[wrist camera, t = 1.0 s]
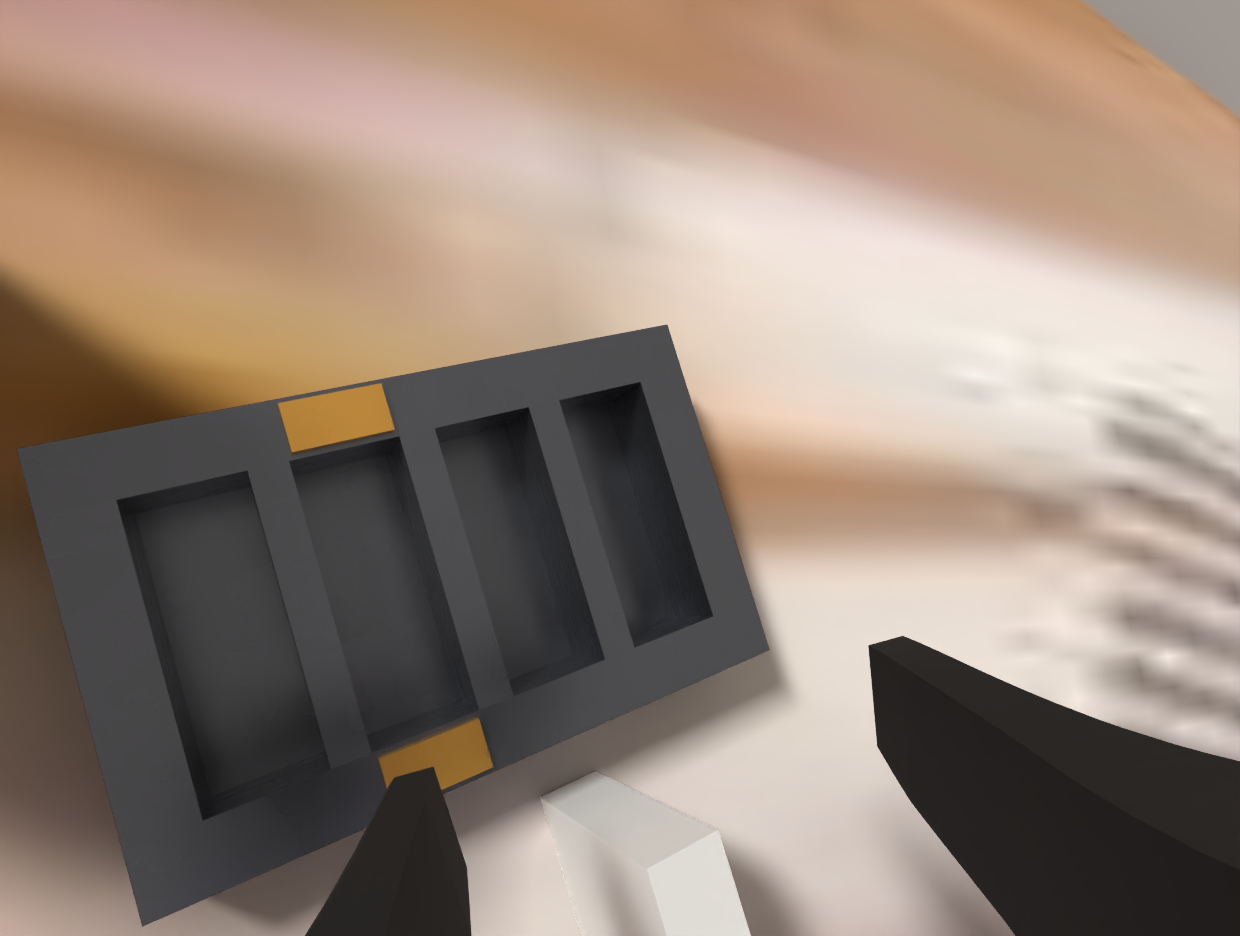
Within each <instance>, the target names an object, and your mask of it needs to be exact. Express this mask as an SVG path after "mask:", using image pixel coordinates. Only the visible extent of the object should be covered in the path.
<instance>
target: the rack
mask: <svg viewBox="0 0 1240 936" xmlns="http://www.w3.org/2000/svg"><path fill="white" fill-rule="evenodd" d="M17 452H18V456H19V460H20V464H21V468H22V471H23V475H24V479H25V483H26V487H27V490H28V494H29V498H30V502H31V506H32V509H33V513H34V517H35V521H36V524H37V528H38V532H39V536H40V540H41V543H42V547H43V551H44V555H45V559H46V562H47V566H48V570H49V574H50V578H51V581H52V585H53V589H54V593H55V597H56V600H57V604H58V608H59V612H60V616H61V619H62V623H63V627H64V631H65V635H66V638H67V642H68V646H69V650H70V654H71V657H72V661H73V665H74V669H75V673H76V676H77V680H78V684H79V688H80V692H81V695H82V699H83V703H84V707H85V711H86V714H87V718H88V722H89V726H90V730H91V733H92V737H93V741H94V745H95V749H96V752H97V756H98V760H99V764H100V768H101V771H102V775H103V779H104V783H105V787H106V790H107V794H108V798H109V802H110V806H111V809H112V813H113V817H114V821H115V825H116V828H117V832H118V836H119V840H120V844H121V847H122V851H123V855H124V859H125V863H126V866H127V870H128V874H129V878H130V882H131V885H132V889H133V893H134V897H135V900H136V904H137V908H138V912H139V916H140V919H141V923H142V927H143V926H145V925H147V924H149V923H152V922H154V921H156V920H158V919H161V918H163V917H165V916H167V915H170V914H172V913H174V912H177V911H179V910H181V909H183V908H186V907H188V906H190V905H192V904H195V903H197V902H199V901H201V900H204V899H206V898H208V897H211V896H213V895H215V894H217V893H220V892H222V891H224V890H226V889H229V888H231V887H233V886H235V885H238V884H240V883H242V882H245V881H247V880H249V879H251V878H254V877H256V876H258V875H260V874H263V873H265V872H267V871H269V870H272V869H274V868H276V867H279V866H281V865H283V864H285V863H288V862H290V861H292V860H294V859H297V858H299V857H301V856H303V855H306V854H308V853H310V852H313V851H315V850H317V849H319V848H322V847H324V846H326V845H328V844H331V843H333V842H335V841H337V840H340V839H342V838H344V837H347V836H349V835H351V834H353V833H356V832H358V831H360V830H362V829H365V828H367V827H368V825H369V823H370V821H371V819H372V817H373V815H374V813H375V811H376V810H377V808H378V806H379V804H380V802H381V800H382V798H383V796H384V794H385V792H386V790H387V788H388V786H389V784H390V783H391V781H392V780H393V778H394V777H397V776H401V775H405V774H408V773H412V772H415V771H419V770H423V769H426V768H430V767H433V766H434V769H435V772H436V775H437V778H438V781H439V784H440V787H441V790H442V793H443V794H444V793H446V792H449V791H451V790H453V789H455V788H458V787H460V786H462V785H464V784H467V783H469V782H471V781H473V780H476V779H478V778H480V777H483V776H485V775H487V774H489V773H492V772H494V771H496V770H498V769H501V768H503V767H505V766H507V765H510V764H512V763H514V762H517V761H519V760H521V759H523V758H526V757H528V756H530V755H532V754H535V753H537V752H539V751H541V750H544V749H546V748H548V747H551V746H553V745H555V744H557V743H560V742H562V741H564V740H566V739H569V738H571V737H573V736H575V735H578V734H580V733H582V732H585V731H587V730H589V729H591V728H594V727H596V726H598V725H600V724H603V723H605V722H607V721H609V720H612V719H614V718H616V717H619V716H621V715H623V714H625V713H628V712H630V711H632V710H634V709H637V708H639V707H641V706H643V705H646V704H648V703H650V702H653V701H655V700H657V699H659V698H662V697H664V696H666V695H668V694H671V693H673V692H675V691H677V690H680V689H682V688H684V687H687V686H689V685H691V684H693V683H696V682H698V681H700V680H702V679H705V678H707V677H709V676H711V675H714V674H716V673H718V672H721V671H723V670H725V669H727V668H730V667H732V666H734V665H736V664H739V663H741V662H743V661H745V660H748V659H750V658H752V657H755V656H757V655H759V654H761V653H764V652H766V651H768V650H769V647H768V644H767V640H766V637H765V634H764V631H763V628H762V625H761V621H760V618H759V615H758V612H757V609H756V605H755V602H754V599H753V596H752V593H751V589H750V586H749V583H748V580H747V577H746V574H745V570H744V567H743V564H742V561H741V558H740V554H739V551H738V548H737V545H736V542H735V539H734V535H733V532H732V529H731V526H730V523H729V519H728V516H727V513H726V510H725V507H724V504H723V500H722V497H721V494H720V491H719V488H718V484H717V481H716V478H715V475H714V472H713V469H712V465H711V462H710V459H709V456H708V453H707V449H706V446H705V443H704V440H703V437H702V434H701V430H700V427H699V424H698V421H697V418H696V414H695V411H694V408H693V405H692V402H691V399H690V395H689V392H688V389H687V386H686V383H685V379H684V376H683V373H682V370H681V367H680V364H679V360H678V357H677V354H676V351H675V348H674V344H673V341H672V338H671V335H670V332H669V329H668V325H662V326H657V327H652V328H647V329H641V330H636V331H631V332H626V333H620V334H615V335H610V336H605V337H600V338H594V339H589V340H584V341H579V342H573V343H568V344H563V345H558V346H552V347H547V348H542V349H537V350H531V351H526V352H521V353H516V354H510V355H505V356H500V357H495V358H490V359H484V360H479V361H474V362H469V363H463V364H458V365H453V366H448V367H442V368H437V369H432V370H427V371H421V372H416V373H411V374H406V375H400V376H395V377H390V378H385V379H379V380H374V381H369V382H364V383H359V384H353V385H348V386H343V387H338V388H332V389H327V390H322V391H317V392H311V393H306V394H301V395H296V396H290V397H285V398H280V399H275V400H269V401H264V402H259V403H254V404H248V405H243V406H238V407H233V408H228V409H222V410H217V411H212V412H207V413H201V414H196V415H191V416H186V417H180V418H175V419H170V420H165V421H159V422H154V423H149V424H144V425H138V426H133V427H128V428H123V429H117V430H112V431H107V432H102V433H97V434H91V435H86V436H81V437H76V438H70V439H65V440H60V441H55V442H49V443H44V444H39V445H34V446H28V447H23V448H18V449H17Z"/></svg>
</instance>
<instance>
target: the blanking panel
mask: <svg viewBox="0 0 1240 936" xmlns="http://www.w3.org/2000/svg"><path fill="white" fill-rule="evenodd" d="M540 799H541V802H542V806H543V809H544V813H545V816H546V819H547V823H548V826H549V830H550V833H551V836H552V840H553V843H554V847H555V850H556V853H557V857H558V860H559V864H560V867H561V870H562V874H563V877H564V881H565V884H566V887H567V891H568V894H569V898H570V901H571V904H572V908H573V911H574V915H575V918H576V921H577V925H578V928H579V932H580V935H581V936H751V935H750V931H749V928H748V925H747V922H746V918H745V915H744V912H743V908H742V905H741V902H740V899H739V895H738V892H737V889H736V886H735V882H734V879H733V876H732V873H731V869H730V866H729V863H728V859H727V856H726V853H725V850H724V846H723V843H722V840H721V837H720V833H719V830H718V829H716V828H714V827H712V826H710V825H708V824H706V823H703V822H701V821H699V820H697V819H695V818H693V817H691V816H689V815H687V814H685V813H683V812H680V811H678V810H676V809H674V808H672V807H670V806H668V805H666V804H664V803H662V802H659V801H657V800H655V799H653V798H651V797H649V796H647V795H645V794H643V793H641V792H638V791H636V790H634V789H632V788H630V787H628V786H626V785H624V784H622V783H620V782H617V781H615V780H613V779H611V778H609V777H607V776H605V775H603V774H601V773H599V772H596V771H594V772H592V773H590V774H588V775H586V776H584V777H582V778H580V779H577V780H575V781H573V782H571V783H569V784H567V785H565V786H563V787H560V788H558V789H556V790H554V791H552V792H550V793H548V794H546V795H543V796H541V797H540Z"/></svg>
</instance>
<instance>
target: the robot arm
mask: <svg viewBox="0 0 1240 936" xmlns="http://www.w3.org/2000/svg"><path fill="white" fill-rule="evenodd" d="M869 657H870V668H871V679H872V691H873V702H874V713H875V725H876V736H877V746H878V748H879V750H880V752H881V753H882V755H883V757H884V758H885V760H886V762H887V763H888V765H889V767H890V769H891V770H892V772H893V774H894V775H895V777H896V779H897V780H898V782H899V783H900V785H901V787H902V788H903V790H904V791H905V793H906V795H907V796H908V798H909V800H910V801H911V802H912V804H913V805H914V806H915V808H916V809H917V810H918V812H919V813H920V814H921V815H922V817H923V818H924V819H925V821H926V822H927V823H928V824H929V826H930V827H931V828H932V830H933V831H934V832H935V833H936V835H937V836H938V837H939V839H940V840H941V841H942V842H943V844H944V845H945V846H946V847H947V849H948V850H949V851H950V852H951V854H952V855H953V856H954V858H955V859H956V860H957V861H958V863H959V864H960V865H961V866H962V868H963V869H964V870H965V871H966V873H967V874H968V875H969V876H970V878H971V879H972V880H973V881H974V883H975V884H976V885H977V887H978V888H979V889H980V890H981V892H982V893H983V894H984V895H985V897H986V898H987V899H988V900H989V902H990V903H991V904H992V905H993V907H994V908H995V909H996V911H997V912H998V913H999V914H1000V916H1001V917H1002V918H1003V919H1004V921H1005V922H1006V923H1007V925H1008V926H1009V927H1010V929H1011V930H1012V931H1013V933H1014V934H1015V936H1240V761H1236V760H1232V759H1228V758H1224V757H1220V756H1216V755H1212V754H1208V753H1204V752H1200V751H1197V750H1193V749H1189V748H1186V747H1182V746H1179V745H1175V744H1172V743H1169V742H1165V741H1162V740H1159V739H1156V738H1153V737H1149V736H1146V735H1143V734H1140V733H1137V732H1134V731H1130V730H1127V729H1124V728H1121V727H1118V726H1115V725H1112V724H1110V723H1107V722H1104V721H1101V720H1098V719H1095V718H1093V717H1090V716H1088V715H1085V714H1082V713H1080V712H1077V711H1075V710H1072V709H1069V708H1067V707H1064V706H1062V705H1059V704H1056V703H1054V702H1051V701H1049V700H1047V699H1044V698H1042V697H1039V696H1037V695H1034V694H1032V693H1030V692H1027V691H1025V690H1023V689H1020V688H1018V687H1016V686H1013V685H1011V684H1009V683H1007V682H1004V681H1002V680H1000V679H998V678H995V677H993V676H991V675H989V674H986V673H984V672H982V671H980V670H978V669H976V668H973V667H971V666H969V665H967V664H965V663H963V662H960V661H958V660H956V659H954V658H952V657H950V656H947V655H945V654H943V653H941V652H939V651H936V650H934V649H932V648H930V647H928V646H925V645H923V644H921V643H919V642H916V641H914V640H912V639H909V638H907V637H904V636H901V637H897V638H894V639H890V640H887V641H883V642H879V643H876V644H872V645H869ZM305 936H471V923H470V905H469V891H468V877H467V866H466V863H465V860H464V857H463V854H462V851H461V848H460V845H459V842H458V839H457V836H456V833H455V830H454V827H453V824H452V821H451V818H450V815H449V812H448V809H447V806H446V803H445V800H444V797H443V793H442V790H441V787H440V784H439V781H438V778H437V775H436V772H435V769H434V766H433V767H430V768H426V769H423V770H419V771H415V772H412V773H408V774H405V775H401V776H397V777H394V778H393V780H392V781H391V783H390V784H389V786H388V788H387V790H386V792H385V794H384V796H383V798H382V800H381V802H380V804H379V806H378V808H377V810H376V811H375V813H374V815H373V817H372V819H371V821H370V823H369V825H368V827H367V829H366V831H365V833H364V835H363V836H362V838H361V840H360V842H359V844H358V846H357V848H356V850H355V852H354V853H353V855H352V857H351V859H350V860H349V862H348V864H347V866H346V868H345V869H344V871H343V873H342V875H341V876H340V878H339V880H338V882H337V884H336V885H335V887H334V889H333V891H332V892H331V894H330V896H329V898H328V899H327V901H326V903H325V904H324V906H323V908H322V909H321V911H320V912H319V914H318V916H317V917H316V919H315V920H314V922H313V924H312V925H311V927H310V928H309V930H308V932H307V933H306V935H305Z"/></svg>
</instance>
